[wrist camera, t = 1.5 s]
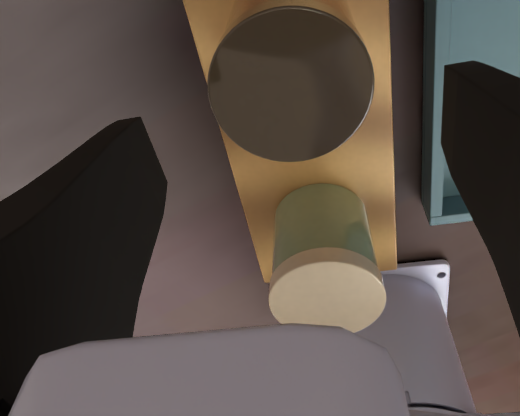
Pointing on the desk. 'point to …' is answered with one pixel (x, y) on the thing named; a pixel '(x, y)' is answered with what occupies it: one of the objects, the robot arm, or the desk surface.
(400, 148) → the desk surface
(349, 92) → the amber jar
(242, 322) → the desk surface
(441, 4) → the tray
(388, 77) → the flat wooden board
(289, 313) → the green jar
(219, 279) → the desk surface
